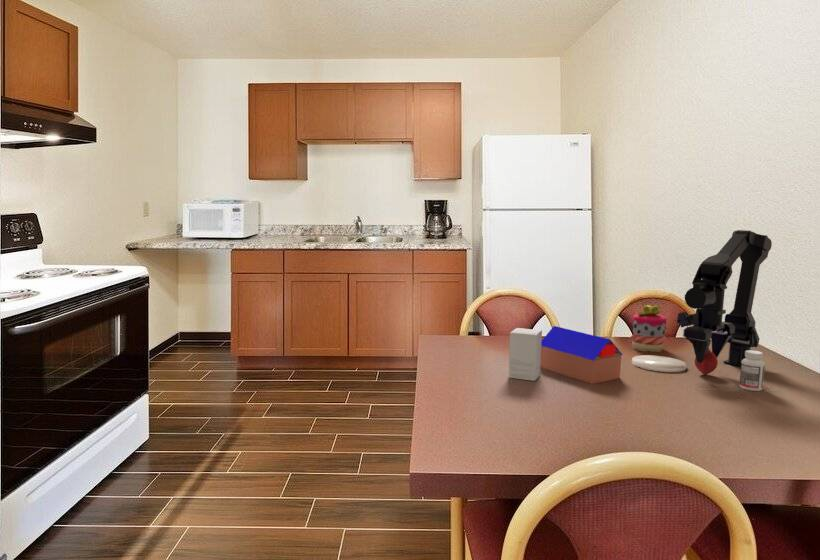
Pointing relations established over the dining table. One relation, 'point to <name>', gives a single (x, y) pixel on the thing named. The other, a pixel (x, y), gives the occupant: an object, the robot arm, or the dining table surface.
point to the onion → (707, 363)
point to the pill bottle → (752, 371)
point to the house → (580, 355)
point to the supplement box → (525, 354)
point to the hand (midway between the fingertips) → (707, 360)
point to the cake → (648, 330)
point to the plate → (659, 363)
